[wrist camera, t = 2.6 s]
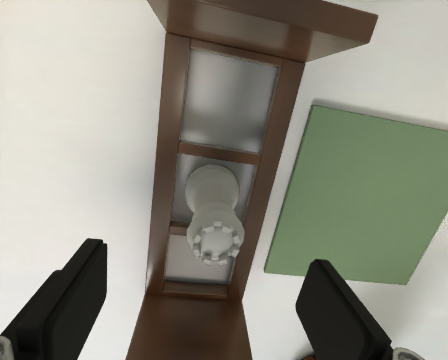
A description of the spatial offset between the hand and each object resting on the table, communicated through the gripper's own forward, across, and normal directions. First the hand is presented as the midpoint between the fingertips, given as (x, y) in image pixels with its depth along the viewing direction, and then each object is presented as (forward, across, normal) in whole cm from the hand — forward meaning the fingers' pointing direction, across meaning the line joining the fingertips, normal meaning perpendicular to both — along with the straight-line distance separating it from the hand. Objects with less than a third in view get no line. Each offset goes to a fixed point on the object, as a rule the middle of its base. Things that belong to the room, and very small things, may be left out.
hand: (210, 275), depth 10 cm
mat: (+10, -15, 0) cm, 18 cm away
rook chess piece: (+10, 0, 0) cm, 10 cm away
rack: (+10, 0, 0) cm, 10 cm away
